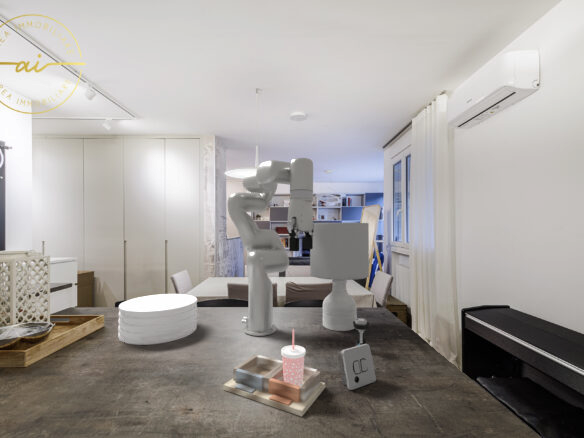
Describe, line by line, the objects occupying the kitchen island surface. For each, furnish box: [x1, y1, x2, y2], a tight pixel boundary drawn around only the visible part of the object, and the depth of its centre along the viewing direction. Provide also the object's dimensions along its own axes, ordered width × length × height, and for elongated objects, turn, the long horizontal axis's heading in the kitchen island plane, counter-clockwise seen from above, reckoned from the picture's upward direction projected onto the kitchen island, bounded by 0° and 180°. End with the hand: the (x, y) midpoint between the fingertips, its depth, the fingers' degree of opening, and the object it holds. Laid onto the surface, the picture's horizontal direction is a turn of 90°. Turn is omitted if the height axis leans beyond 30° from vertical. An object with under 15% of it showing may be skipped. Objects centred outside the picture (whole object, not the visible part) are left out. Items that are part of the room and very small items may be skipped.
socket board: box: [222, 354, 326, 417], centre depth 74 cm, size 22×13×4 cm, turn 61°
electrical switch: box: [336, 343, 377, 391], centre depth 78 cm, size 9×5×9 cm, turn 121°
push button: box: [353, 317, 370, 346], centre depth 97 cm, size 7×5×10 cm
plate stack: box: [117, 293, 198, 346], centre depth 116 cm, size 28×28×12 cm
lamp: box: [309, 222, 370, 332], centre depth 123 cm, size 24×24×42 cm
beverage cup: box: [280, 328, 306, 386], centre depth 73 cm, size 6×6×14 cm
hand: (301, 250), depth 95 cm, fingers open, 9 cm apart
